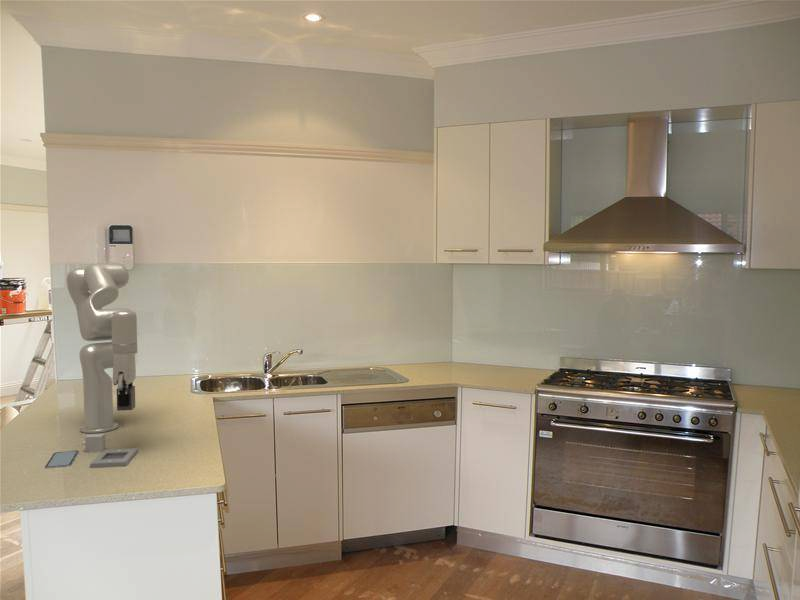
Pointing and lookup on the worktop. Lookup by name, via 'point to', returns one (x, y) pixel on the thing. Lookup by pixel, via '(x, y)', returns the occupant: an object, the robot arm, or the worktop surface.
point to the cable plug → (94, 442)
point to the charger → (131, 399)
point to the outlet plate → (114, 457)
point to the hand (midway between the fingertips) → (126, 403)
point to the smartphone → (62, 459)
